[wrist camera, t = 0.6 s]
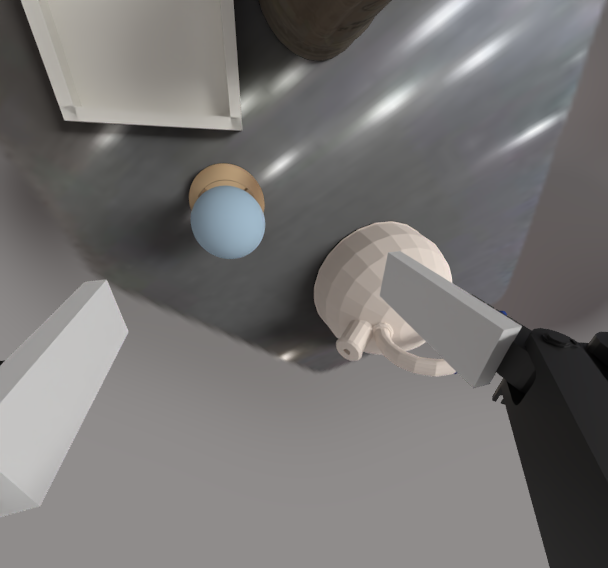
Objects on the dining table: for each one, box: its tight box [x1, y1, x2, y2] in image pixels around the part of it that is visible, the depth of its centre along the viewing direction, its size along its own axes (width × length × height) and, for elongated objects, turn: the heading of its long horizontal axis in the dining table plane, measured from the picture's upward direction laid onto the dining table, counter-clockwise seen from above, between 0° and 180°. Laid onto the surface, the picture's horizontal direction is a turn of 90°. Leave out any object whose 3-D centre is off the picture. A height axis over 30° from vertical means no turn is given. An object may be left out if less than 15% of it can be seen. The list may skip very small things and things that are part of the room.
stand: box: [189, 163, 264, 212], centre depth 26 cm, size 8×8×7 cm
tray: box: [21, 0, 242, 131], centre depth 19 cm, size 14×14×2 cm
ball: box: [191, 186, 265, 259], centre depth 21 cm, size 6×6×6 cm
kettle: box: [314, 221, 507, 377], centre depth 33 cm, size 20×21×18 cm
